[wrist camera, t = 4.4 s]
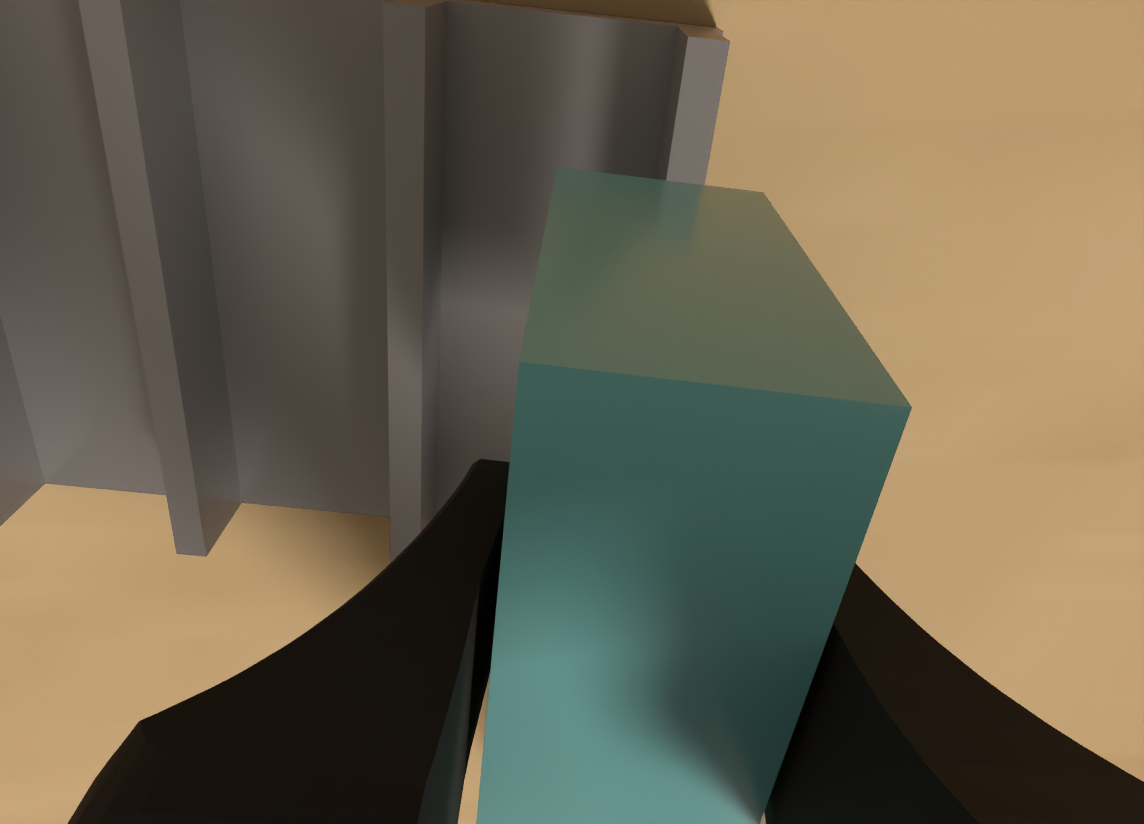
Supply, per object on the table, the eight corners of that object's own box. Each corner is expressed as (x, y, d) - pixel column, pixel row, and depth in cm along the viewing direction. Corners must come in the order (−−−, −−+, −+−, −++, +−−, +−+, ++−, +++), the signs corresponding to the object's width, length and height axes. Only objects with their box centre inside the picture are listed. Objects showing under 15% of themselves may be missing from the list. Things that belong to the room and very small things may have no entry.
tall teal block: (670, 595, 18) (711, 956, 12) (514, 578, 18) (466, 933, 12) (762, 192, 14) (912, 407, 7) (557, 167, 14) (519, 361, 7)
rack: (634, 520, 25) (639, 598, 22) (31, 461, 25) (-48, 532, 22) (717, 27, 19) (740, 42, 16) (-111, -65, 18) (-254, -69, 15)
